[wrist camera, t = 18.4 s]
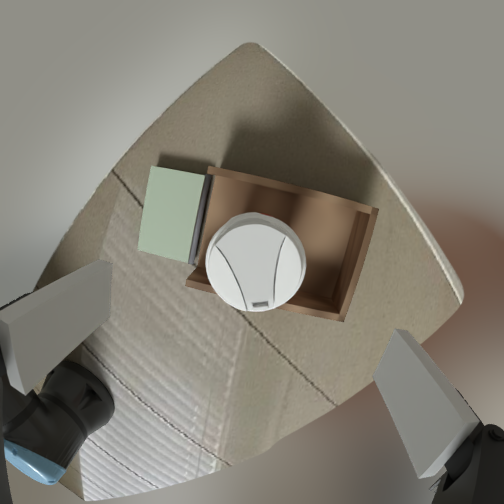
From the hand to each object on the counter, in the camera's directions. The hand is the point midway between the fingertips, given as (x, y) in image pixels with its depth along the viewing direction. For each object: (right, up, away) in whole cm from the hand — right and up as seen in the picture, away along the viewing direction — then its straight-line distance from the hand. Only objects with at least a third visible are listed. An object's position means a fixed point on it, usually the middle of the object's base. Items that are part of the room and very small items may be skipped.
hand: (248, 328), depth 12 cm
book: (-6, +7, +23) cm, 25 cm away
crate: (+4, +5, +24) cm, 25 cm away
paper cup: (+1, +5, +23) cm, 23 cm away
